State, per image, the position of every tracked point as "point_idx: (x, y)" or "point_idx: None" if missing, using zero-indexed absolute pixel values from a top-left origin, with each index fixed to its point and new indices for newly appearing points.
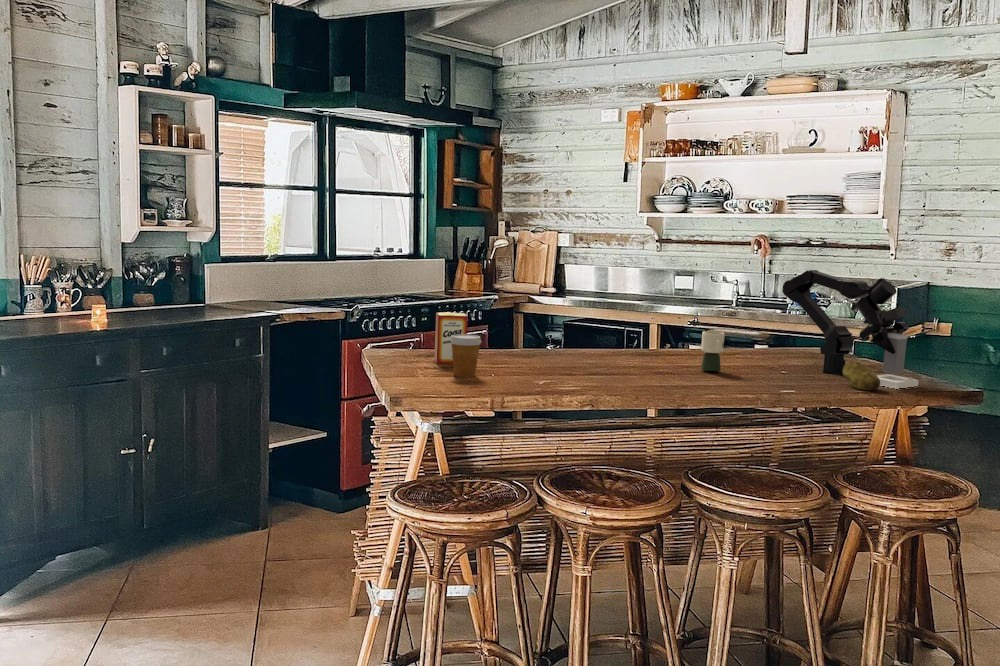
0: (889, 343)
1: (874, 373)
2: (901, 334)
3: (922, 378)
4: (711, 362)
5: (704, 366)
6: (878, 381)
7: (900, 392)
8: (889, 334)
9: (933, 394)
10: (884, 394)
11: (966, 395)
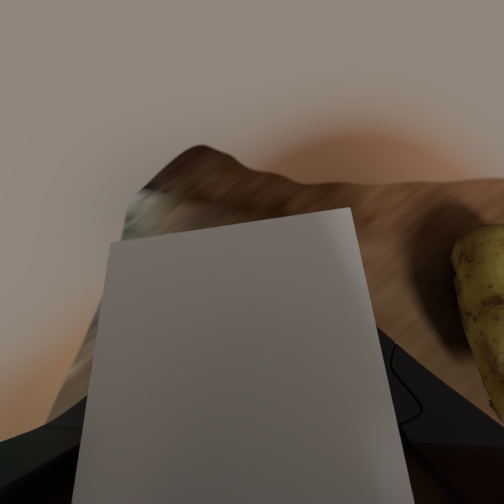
0: (387, 336)
1: (502, 264)
2: (170, 303)
3: (88, 358)
4: None
5: None
6: (494, 224)
7: (361, 217)
8: (399, 464)
9: (277, 176)
10: (457, 205)
11: (202, 154)
